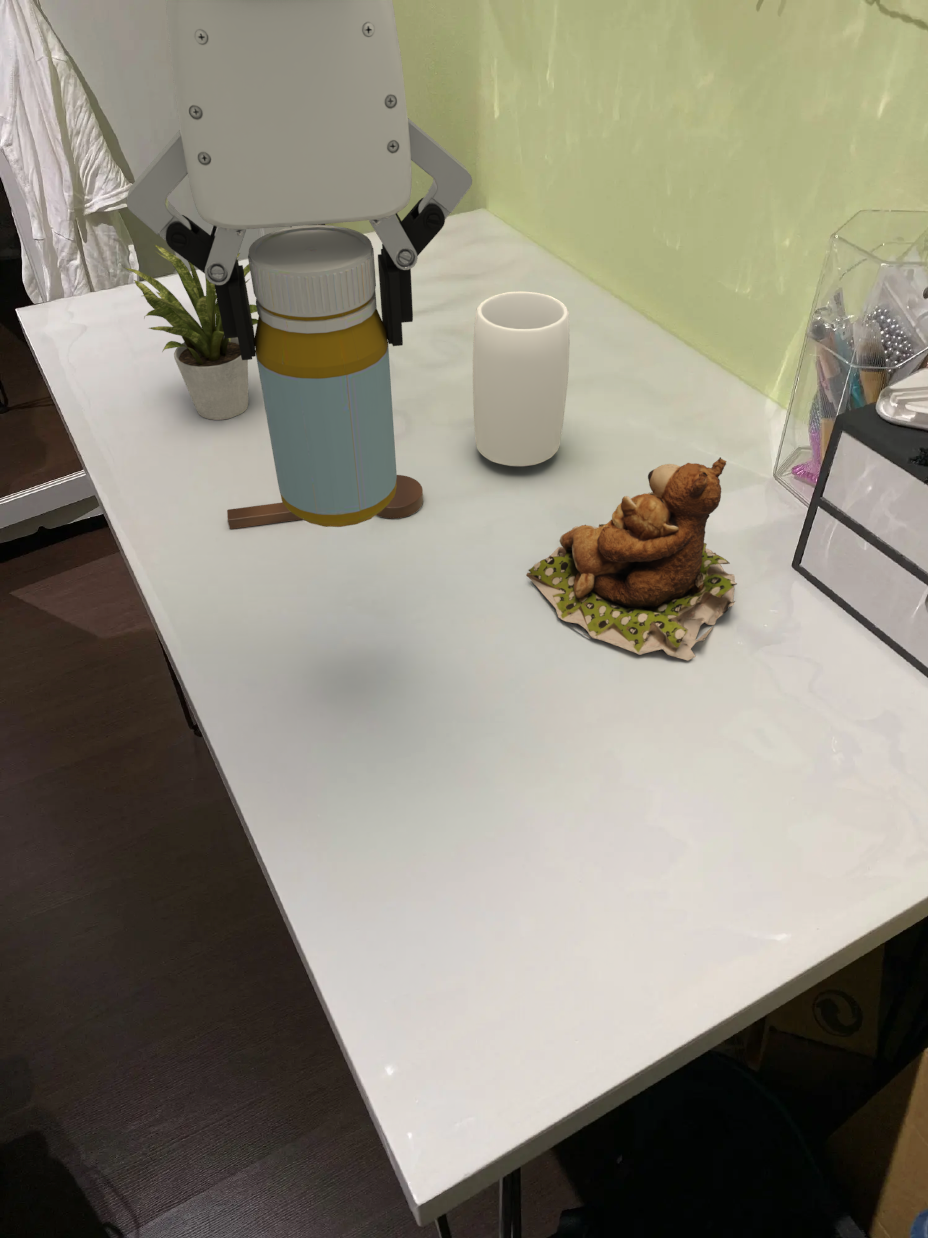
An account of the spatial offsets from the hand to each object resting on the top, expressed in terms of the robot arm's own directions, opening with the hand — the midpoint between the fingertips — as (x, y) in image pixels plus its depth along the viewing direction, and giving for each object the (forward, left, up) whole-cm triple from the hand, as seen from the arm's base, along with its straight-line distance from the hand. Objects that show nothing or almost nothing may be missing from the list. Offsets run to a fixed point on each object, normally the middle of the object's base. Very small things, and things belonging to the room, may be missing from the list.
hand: (320, 338), depth 48 cm
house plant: (-8, +41, -26) cm, 49 cm away
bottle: (0, 0, -10) cm, 10 cm away
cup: (+18, +25, -26) cm, 40 cm away
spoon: (0, +20, -26) cm, 32 cm away
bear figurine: (+22, +4, -26) cm, 34 cm away
